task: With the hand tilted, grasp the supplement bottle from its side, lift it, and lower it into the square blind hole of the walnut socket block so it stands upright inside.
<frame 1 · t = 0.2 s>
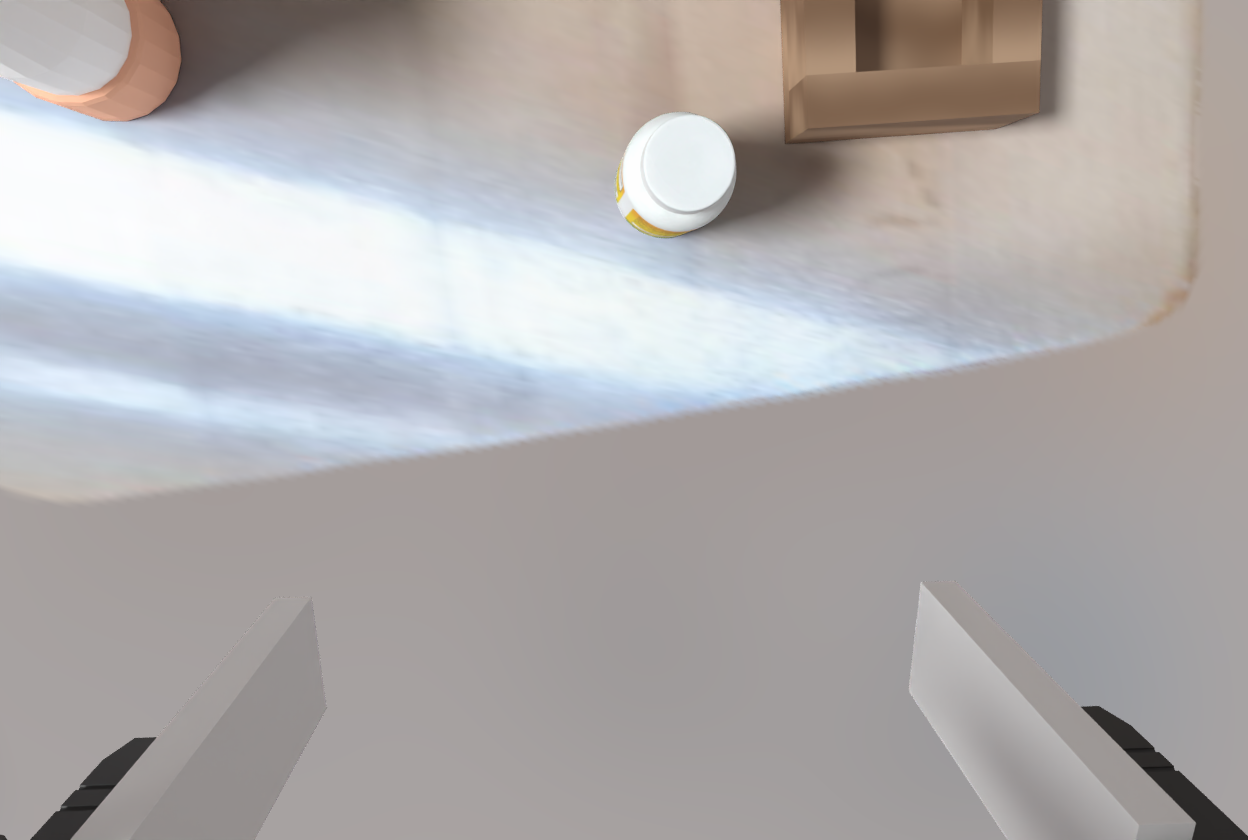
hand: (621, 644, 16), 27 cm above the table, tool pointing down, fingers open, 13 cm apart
supplement bottle: (661, 190, 41), on the table
socket block: (889, 20, 40), on the table
pepper shaker: (110, 48, 37), on the table
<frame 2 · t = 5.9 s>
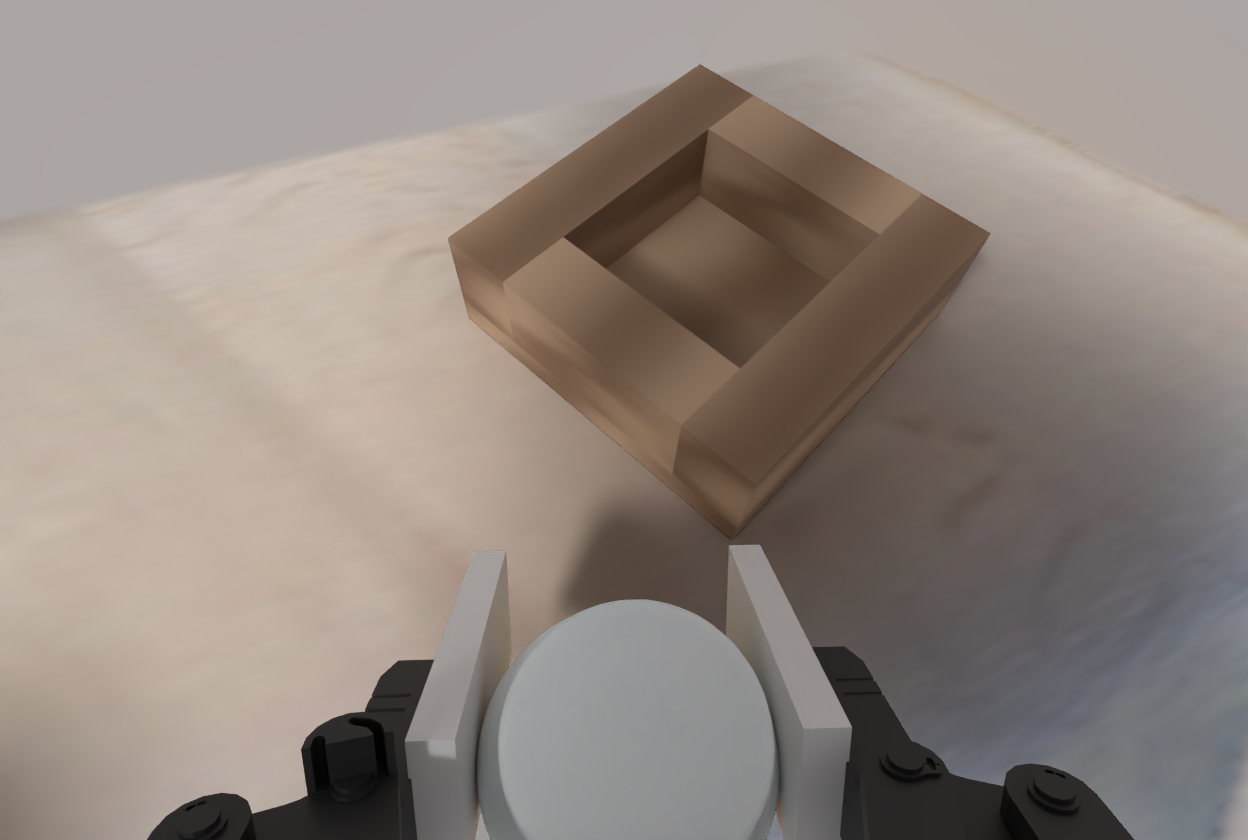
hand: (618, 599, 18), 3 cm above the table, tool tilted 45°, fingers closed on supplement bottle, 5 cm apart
supplement bottle: (620, 779, 19), on the table, touching gripper
socket block: (707, 315, 26), on the table
when the fingers open (6 cm above the table, at t = 10.9 s): supplement bottle drops 2 cm, resting on socket block.
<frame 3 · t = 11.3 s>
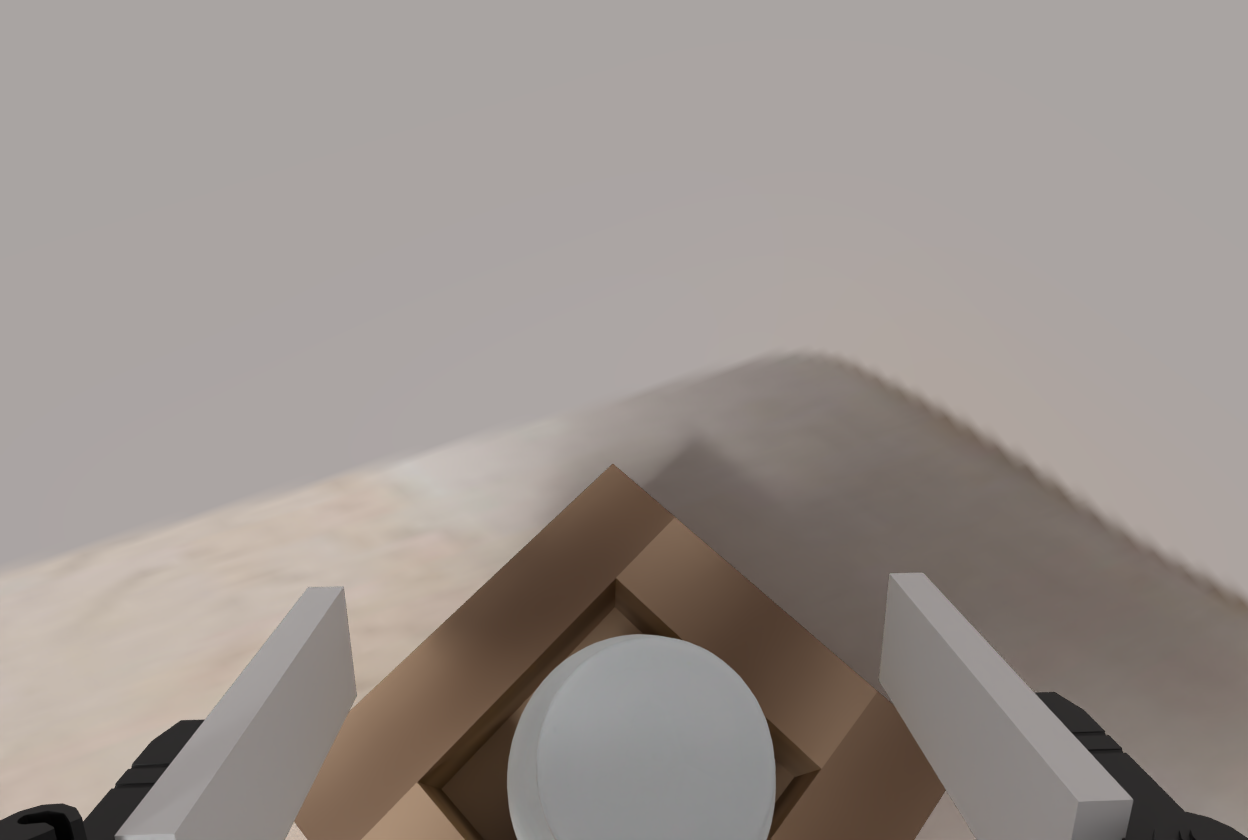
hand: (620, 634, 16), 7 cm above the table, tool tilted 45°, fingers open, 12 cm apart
supplement bottle: (624, 788, 20), point 1 cm above the table, touching socket block
socket block: (618, 785, 21), on the table
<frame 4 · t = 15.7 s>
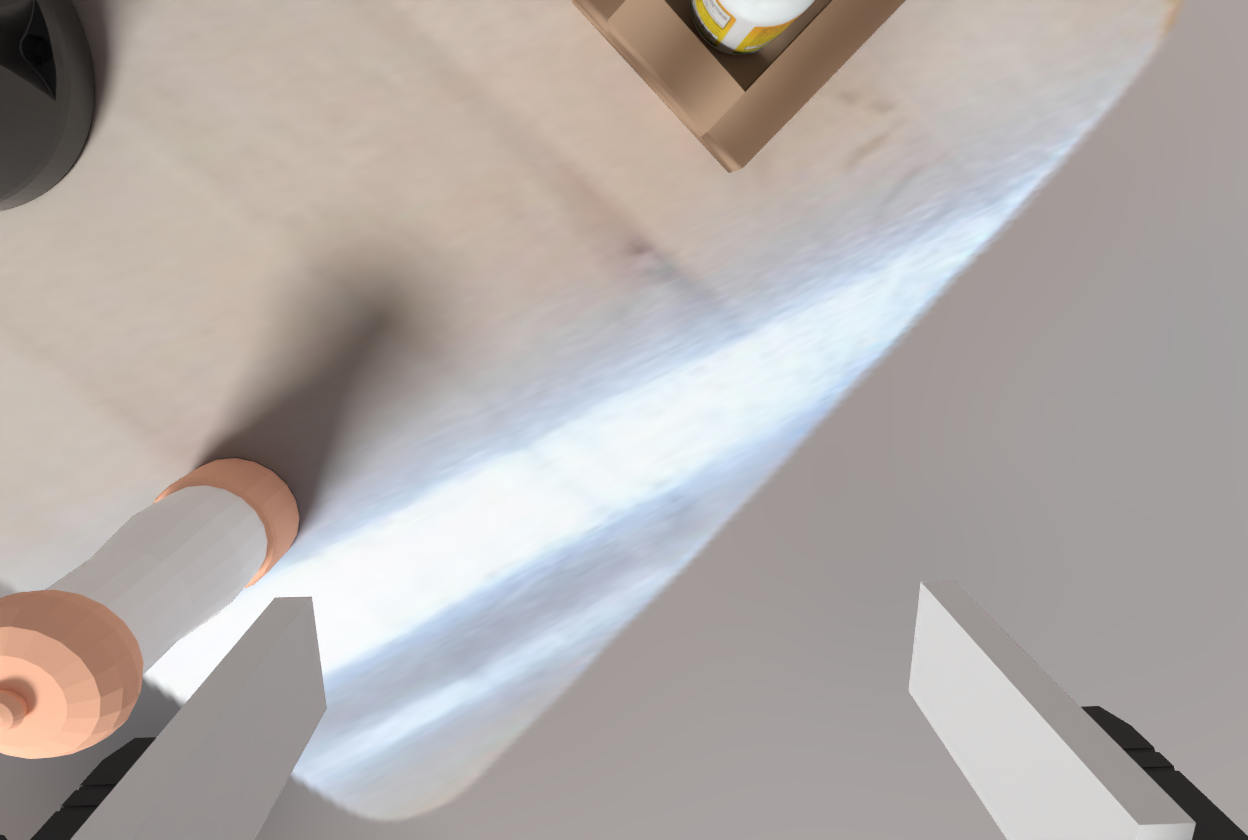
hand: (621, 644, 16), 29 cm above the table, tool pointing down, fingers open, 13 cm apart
supplement bottle: (739, 1, 38), point 1 cm above the table, touching socket block
socket block: (733, 3, 38), on the table
pepper shaker: (241, 512, 45), on the table
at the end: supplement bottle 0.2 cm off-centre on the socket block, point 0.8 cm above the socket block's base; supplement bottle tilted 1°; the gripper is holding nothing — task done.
